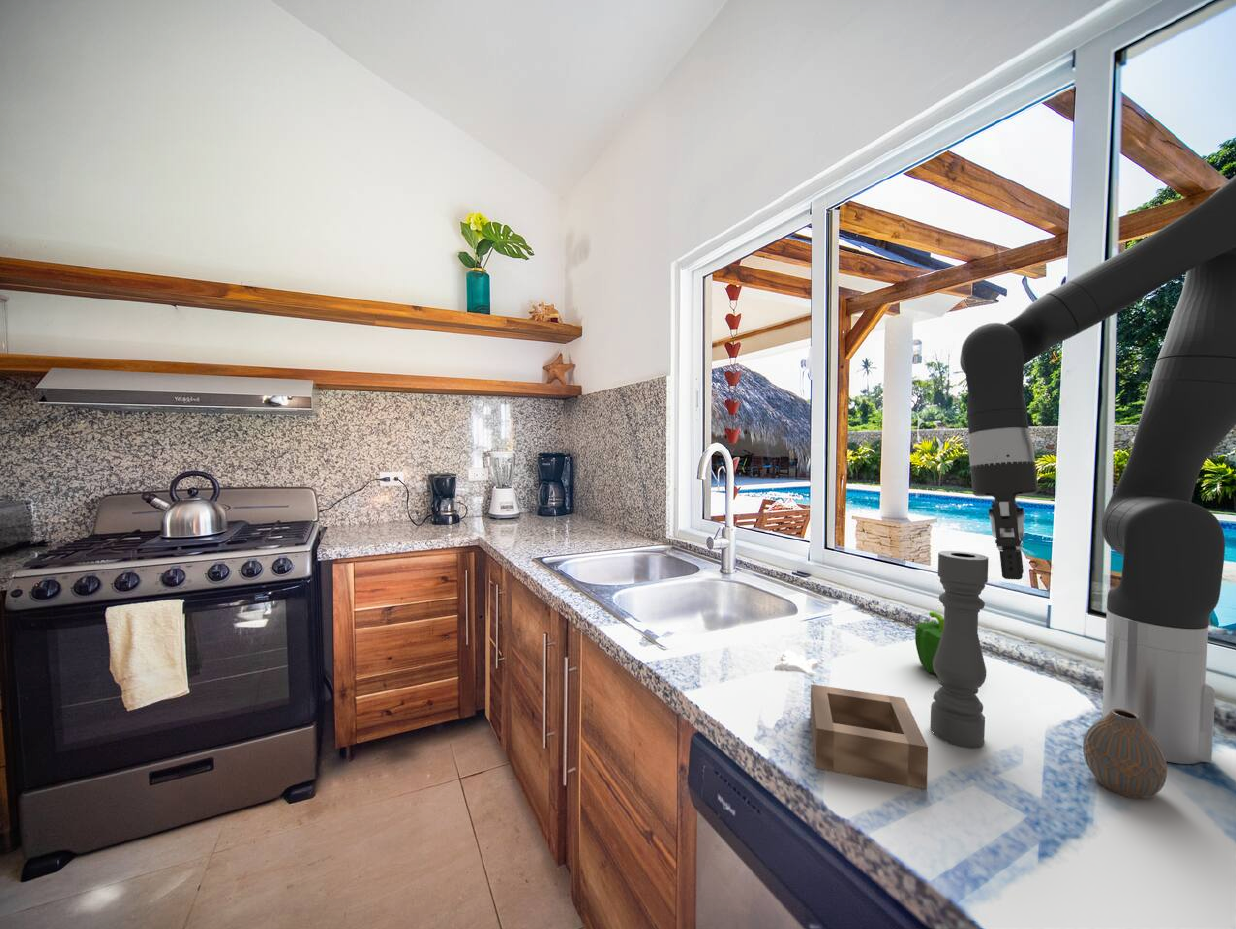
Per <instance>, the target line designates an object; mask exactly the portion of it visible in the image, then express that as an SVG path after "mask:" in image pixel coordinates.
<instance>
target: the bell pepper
mask: <svg viewBox="0 0 1236 929" xmlns="http://www.w3.org/2000/svg"><path fill="white" fill-rule="evenodd" d="M928 614H929V616H930V617H931V618H935V619H936V620H937V621H938V622H936V621H933V620H931V621H928V622H917V625H915V632H914V635H915V636H914V639H915V641H914V642H915V647H916V652H917V655H918V659H919V662H920V664H921V665H922V666H923V667H924V668H925V669H926V671H927V672H929V673H930V672H931V674H933V675H935V674H936V673H935V671H934V668H933V660H934V656H935V653H936V650H937V647H938V644H939V641H940V638H941V635H942V631H943V628H944V616H942V614H939V612H936V611H930V612H929V613H928Z"/></svg>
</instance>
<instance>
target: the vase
mask: <svg viewBox="0 0 1236 929" xmlns="http://www.w3.org/2000/svg"><path fill="white" fill-rule="evenodd" d="M1082 742H1083V743H1082V748H1083V749H1082V751H1083V757H1084V761H1085V764H1086V766H1087V767H1088V770H1089V771H1090V772H1091V774H1092V775H1093V777H1095V779H1096V780H1097V781H1098V782H1099V783H1100V784H1101V785H1103V786H1104V787H1105V788H1107V789H1108V790H1110V791H1112V792H1113V793H1117V794H1119V795H1122V796H1125V797H1128V798H1133V799H1147V798H1150V797H1152V796H1154V795H1156V794H1158V793H1159V792H1160V791H1161V790H1162V789H1163V787H1164V786H1165V784H1166V782H1167V776H1168V764H1167V761H1166V759H1165V756H1164V753H1163V751H1162V749H1161V747H1160V745H1159V744H1158V742H1157V741H1156V740H1155V739H1154V737H1153V736H1152V735H1151V734H1150V733H1149V731H1148V730H1147V729H1146V728H1145V726H1144V725H1143V723H1142V721H1141V719H1140V717H1139V716H1138V715H1136V714H1134V713H1132V712H1129V711H1126V710H1121V709H1112V710H1111V711H1110V712H1109V714H1108V715H1107V716H1105V717H1104V718H1101V719H1099V720H1097V721H1095V722H1093V724H1091V726H1089V727H1088V729H1087V730H1086V733H1085V734H1084V736H1083V741H1082Z"/></svg>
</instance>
